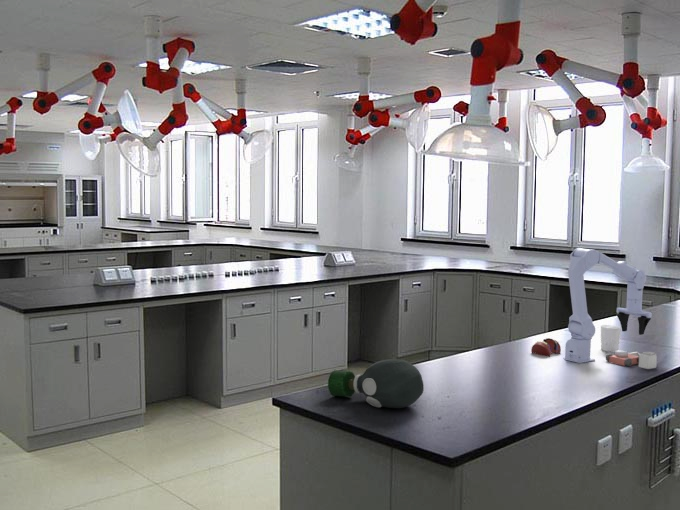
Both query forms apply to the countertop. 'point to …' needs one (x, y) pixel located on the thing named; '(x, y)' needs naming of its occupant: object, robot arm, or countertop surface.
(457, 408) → the countertop surface
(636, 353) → the toy car
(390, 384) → the gas mask
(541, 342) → the red rounded pieces
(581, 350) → the robot arm
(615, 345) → the white cup
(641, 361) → the white drawer box
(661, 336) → the countertop surface
